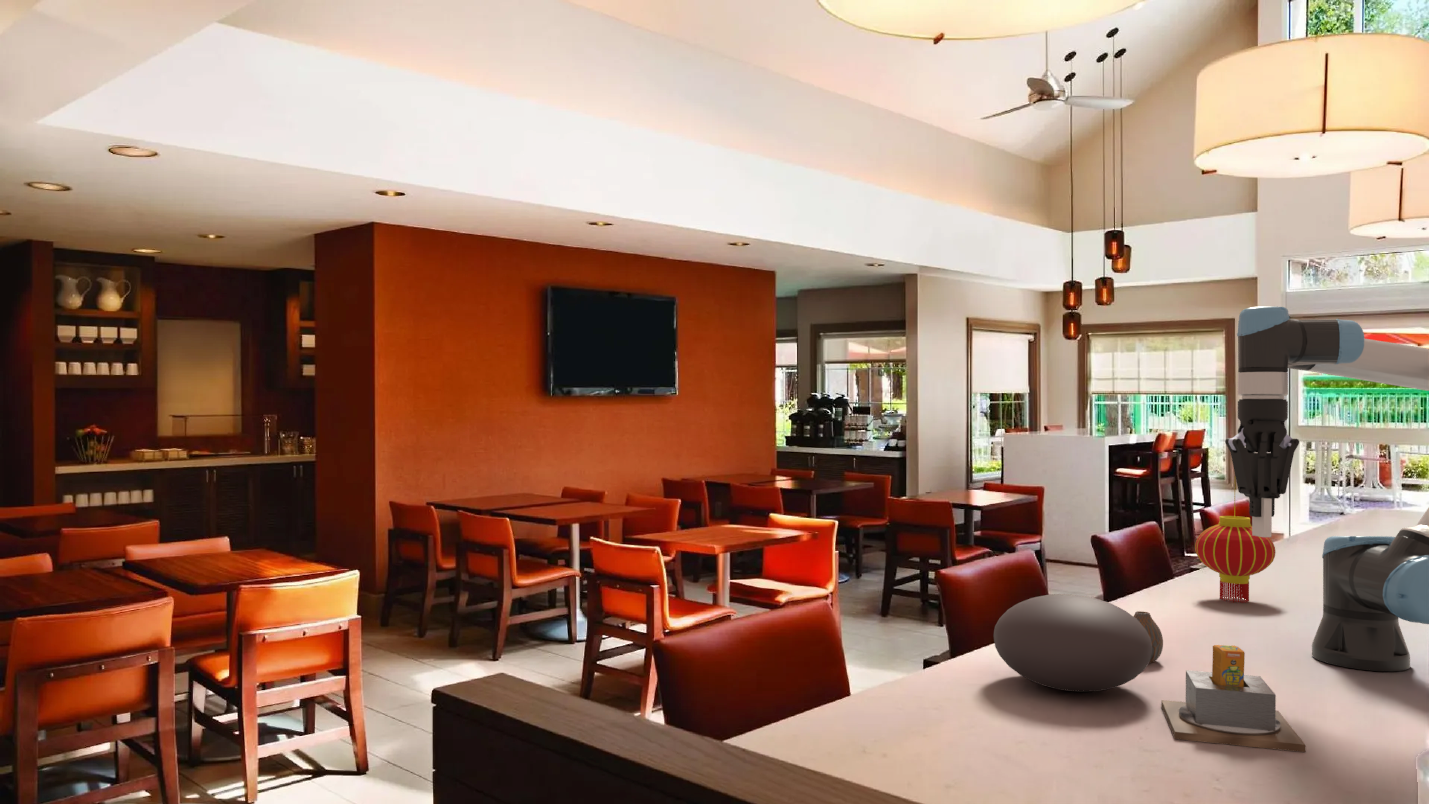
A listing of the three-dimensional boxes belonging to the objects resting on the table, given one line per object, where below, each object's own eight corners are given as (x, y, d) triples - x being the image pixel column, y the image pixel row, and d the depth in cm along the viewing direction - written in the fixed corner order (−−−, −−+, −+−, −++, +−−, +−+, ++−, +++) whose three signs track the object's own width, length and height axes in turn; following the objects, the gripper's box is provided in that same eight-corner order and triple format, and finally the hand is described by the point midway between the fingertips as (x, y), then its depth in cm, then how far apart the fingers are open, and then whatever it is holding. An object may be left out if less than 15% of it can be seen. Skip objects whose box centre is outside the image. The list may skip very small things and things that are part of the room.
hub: (1269, 712, 148) (1269, 674, 148) (1290, 740, 136) (1290, 698, 136) (1173, 703, 152) (1173, 666, 152) (1185, 729, 140) (1185, 689, 140)
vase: (1167, 666, 178) (1167, 617, 178) (1126, 664, 180) (1126, 615, 180) (1158, 657, 185) (1158, 609, 185) (1118, 654, 187) (1118, 607, 187)
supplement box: (1220, 720, 142) (1220, 649, 142) (1210, 712, 146) (1210, 643, 146) (1244, 720, 142) (1245, 650, 142) (1234, 713, 145) (1234, 644, 145)
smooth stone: (1145, 675, 172) (1146, 588, 173) (1159, 716, 149) (1159, 616, 149) (997, 661, 180) (998, 579, 181) (987, 699, 157) (988, 604, 157)
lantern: (1184, 592, 251) (1185, 473, 252) (1258, 595, 249) (1259, 474, 249) (1208, 605, 234) (1209, 478, 235) (1287, 608, 232) (1288, 479, 232)
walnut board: (1278, 717, 149) (1278, 710, 149) (1305, 752, 134) (1305, 744, 134) (1161, 706, 154) (1161, 700, 154) (1174, 739, 139) (1174, 731, 139)
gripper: (1278, 398, 176) (1277, 532, 175) (1213, 397, 173) (1213, 534, 173) (1312, 398, 168) (1311, 538, 168) (1245, 397, 166) (1244, 539, 165)
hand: (1261, 536), depth 170 cm, fingers closed
